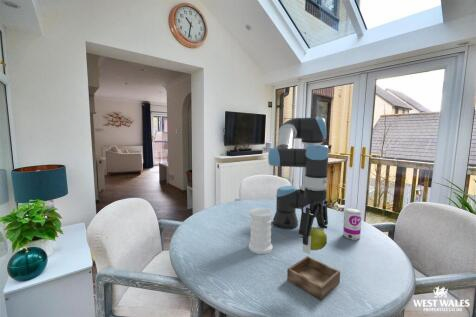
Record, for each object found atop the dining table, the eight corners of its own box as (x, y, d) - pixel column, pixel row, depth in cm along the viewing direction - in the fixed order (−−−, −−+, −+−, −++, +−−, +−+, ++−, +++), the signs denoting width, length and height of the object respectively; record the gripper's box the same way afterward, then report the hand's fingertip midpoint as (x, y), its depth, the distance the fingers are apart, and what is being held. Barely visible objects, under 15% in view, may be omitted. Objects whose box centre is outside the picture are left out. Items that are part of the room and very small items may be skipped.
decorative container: (274, 244, 110) (275, 209, 108) (270, 256, 99) (270, 217, 97) (252, 240, 114) (252, 207, 112) (245, 251, 103) (245, 214, 101)
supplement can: (362, 241, 113) (364, 213, 112) (345, 239, 115) (346, 212, 113) (357, 234, 121) (358, 208, 119) (341, 232, 123) (342, 207, 121)
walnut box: (287, 280, 82) (287, 268, 82) (307, 266, 91) (307, 256, 91) (320, 300, 72) (321, 287, 72) (339, 282, 81) (340, 271, 80)
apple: (297, 243, 84) (298, 223, 83) (321, 243, 84) (322, 223, 83) (303, 254, 77) (303, 232, 76) (329, 254, 76) (330, 233, 75)
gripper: (308, 195, 68) (306, 263, 71) (339, 185, 82) (336, 242, 84) (288, 190, 74) (287, 253, 76) (321, 182, 88) (318, 236, 90)
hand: (313, 248), depth 80 cm, fingers closed on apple, 8 cm apart
